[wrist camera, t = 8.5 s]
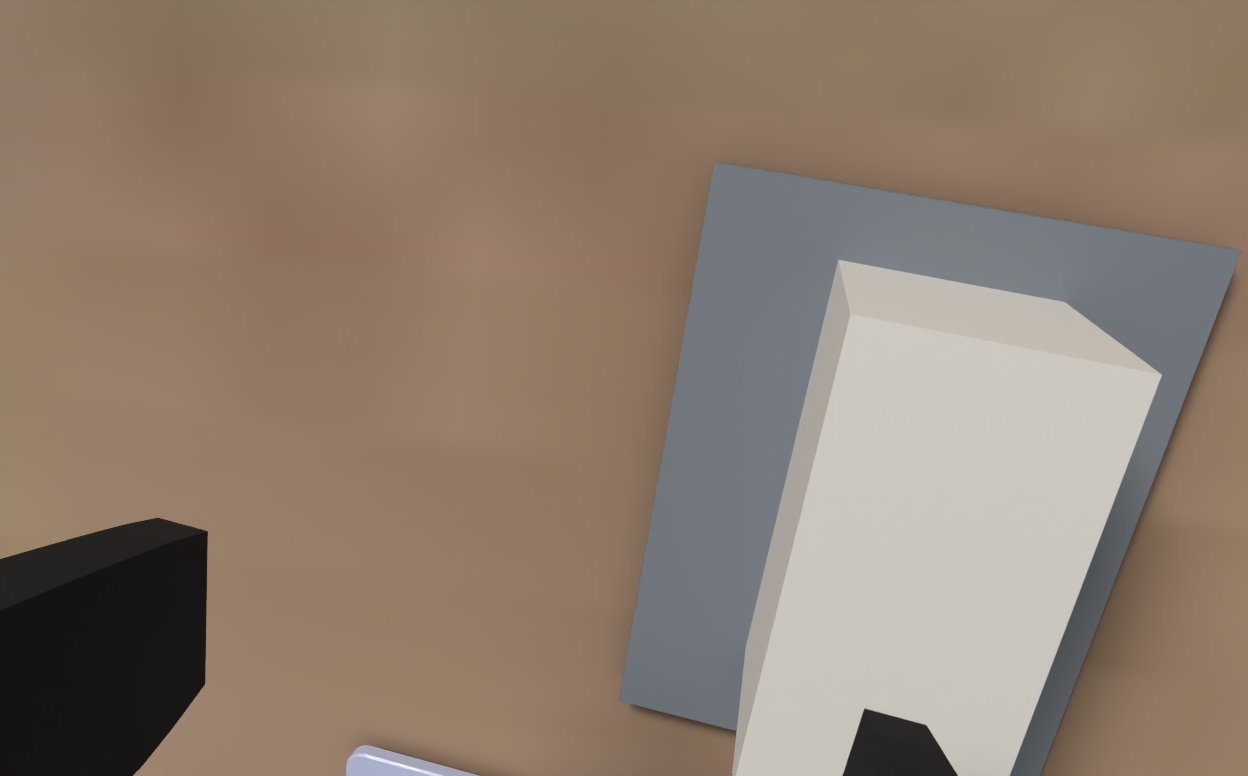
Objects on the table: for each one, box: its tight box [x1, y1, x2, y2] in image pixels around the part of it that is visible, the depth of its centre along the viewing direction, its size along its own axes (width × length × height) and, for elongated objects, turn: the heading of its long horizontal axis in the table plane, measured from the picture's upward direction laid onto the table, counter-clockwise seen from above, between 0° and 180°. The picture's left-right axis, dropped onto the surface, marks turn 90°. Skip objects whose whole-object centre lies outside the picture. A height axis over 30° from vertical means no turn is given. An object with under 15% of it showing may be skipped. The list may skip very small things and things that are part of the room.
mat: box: [619, 162, 1241, 776], centre depth 17 cm, size 12×9×1 cm
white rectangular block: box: [732, 260, 1162, 776], centre depth 15 cm, size 4×8×4 cm, turn 171°
